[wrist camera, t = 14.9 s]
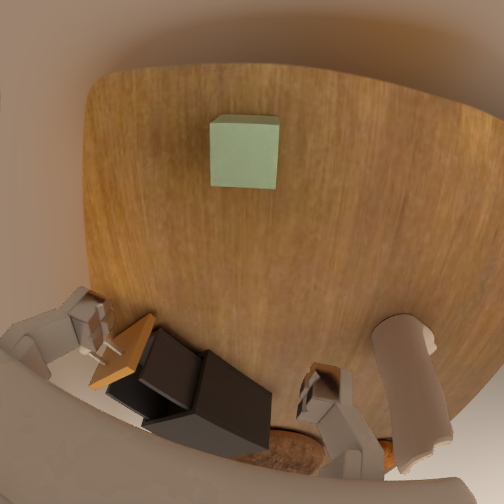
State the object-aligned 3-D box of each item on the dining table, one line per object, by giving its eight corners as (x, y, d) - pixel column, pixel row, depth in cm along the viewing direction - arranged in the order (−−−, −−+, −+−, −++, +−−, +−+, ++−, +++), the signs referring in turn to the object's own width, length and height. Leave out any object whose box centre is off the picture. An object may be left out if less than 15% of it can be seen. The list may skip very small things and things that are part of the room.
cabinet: (157, 372, 46) (140, 426, 38) (208, 349, 41) (194, 413, 33) (218, 410, 52) (210, 459, 43) (272, 393, 47) (269, 450, 38)
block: (221, 167, 27) (210, 186, 23) (221, 114, 25) (209, 122, 20) (275, 170, 27) (275, 189, 23) (279, 116, 24) (279, 125, 20)
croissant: (393, 426, 58) (398, 452, 51) (400, 449, 63) (404, 472, 56) (337, 442, 63) (339, 469, 55) (352, 463, 68) (353, 486, 60)
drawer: (88, 323, 40) (63, 367, 33) (124, 291, 36) (95, 343, 28) (174, 386, 47) (162, 430, 39) (221, 367, 42) (212, 419, 35)
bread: (288, 466, 70) (287, 495, 62) (197, 448, 66) (191, 480, 58) (344, 436, 57) (347, 474, 48) (232, 414, 52) (226, 459, 44)
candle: (412, 367, 42) (438, 478, 25) (360, 337, 38) (384, 479, 21) (447, 342, 38) (485, 455, 21) (401, 305, 35) (446, 451, 18)
